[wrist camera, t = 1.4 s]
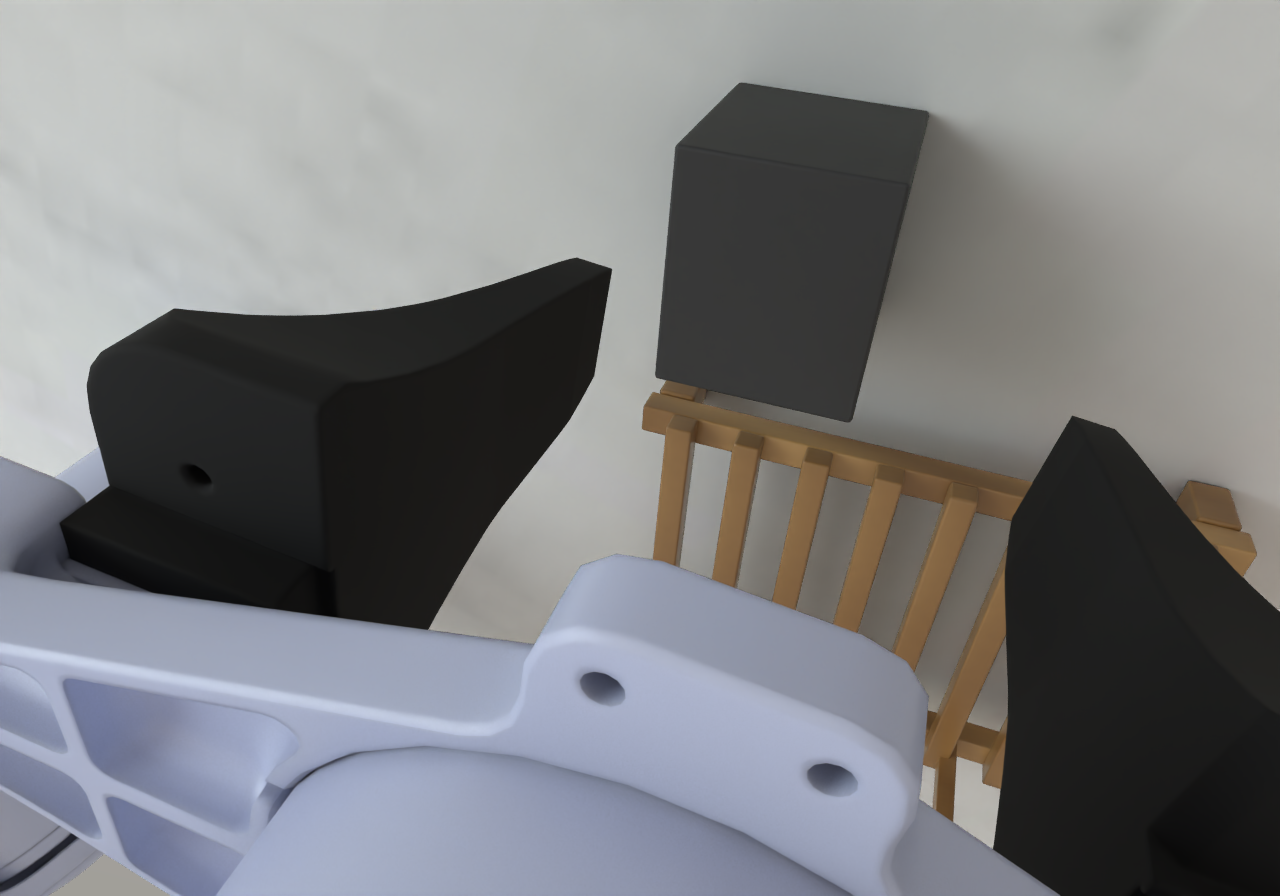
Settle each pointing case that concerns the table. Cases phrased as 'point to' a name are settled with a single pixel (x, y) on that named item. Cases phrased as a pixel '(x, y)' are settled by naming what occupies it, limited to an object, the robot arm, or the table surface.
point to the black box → (784, 245)
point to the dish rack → (878, 542)
